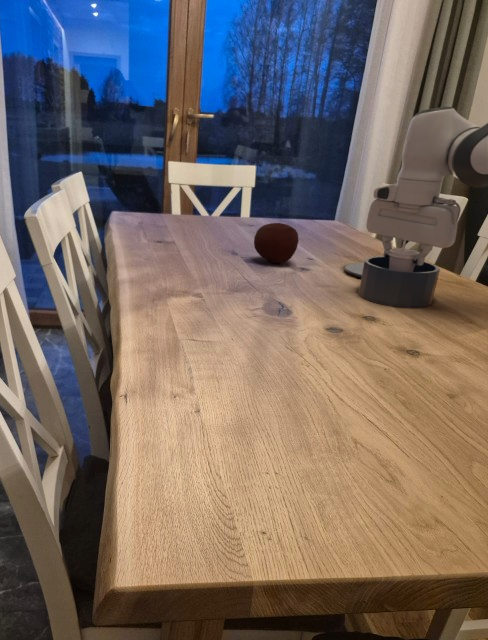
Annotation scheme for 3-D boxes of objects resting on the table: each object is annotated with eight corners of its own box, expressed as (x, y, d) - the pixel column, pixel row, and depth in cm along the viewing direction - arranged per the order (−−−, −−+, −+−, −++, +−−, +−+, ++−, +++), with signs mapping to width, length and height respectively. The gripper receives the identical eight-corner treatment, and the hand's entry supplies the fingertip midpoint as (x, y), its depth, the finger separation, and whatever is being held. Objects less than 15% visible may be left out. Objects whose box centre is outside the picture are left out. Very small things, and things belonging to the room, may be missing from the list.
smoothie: (375, 291, 130) (387, 228, 124) (398, 290, 132) (412, 227, 126) (392, 299, 125) (405, 233, 119) (416, 298, 127) (431, 233, 121)
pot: (446, 302, 127) (454, 268, 124) (401, 311, 119) (409, 276, 116) (388, 285, 139) (394, 253, 135) (344, 292, 130) (349, 259, 127)
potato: (272, 255, 163) (276, 217, 159) (305, 265, 153) (310, 225, 149) (242, 258, 157) (245, 219, 153) (274, 269, 148) (279, 228, 143)
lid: (424, 279, 146) (428, 260, 144) (382, 286, 137) (386, 266, 135) (372, 264, 158) (375, 247, 156) (330, 270, 149) (333, 252, 147)
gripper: (471, 200, 113) (454, 270, 119) (386, 188, 128) (374, 250, 134) (453, 201, 110) (436, 273, 116) (368, 188, 125) (356, 252, 131)
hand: (402, 260), depth 125 cm, fingers closed on smoothie, 6 cm apart
